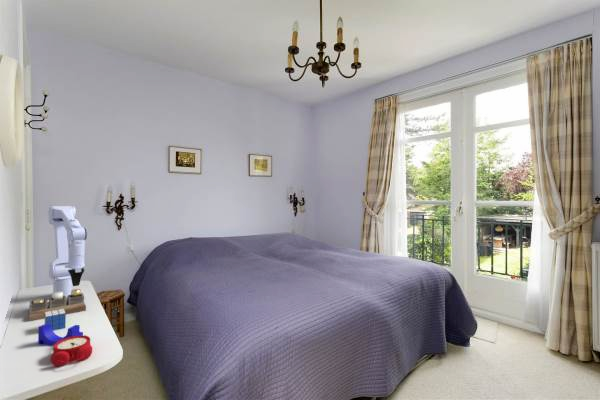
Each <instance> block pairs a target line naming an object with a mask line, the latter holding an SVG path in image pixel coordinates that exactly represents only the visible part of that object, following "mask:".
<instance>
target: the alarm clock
mask: <svg viewBox="0 0 600 400" xmlns="http://www.w3.org/2000/svg"><path fill="white" fill-rule="evenodd" d="M92 354H93V346H92V344H91V337H90V336H88V335H86V334H85V335H84V334H83V335H80V336H73V337H68V338H65V339H63V340H60V341H57V343H55V345H53V347H52V354H51V356H50V361H51V363H52V365H53V366H54V367H63V366H66V364H68V363H73V362H77V361H80V362H81V361H82V362H83V361H86V360H88V359H89V358H90V357H91V355H92Z"/></svg>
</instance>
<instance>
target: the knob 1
mask: <svg viewBox="0 0 600 400" xmlns="http://www.w3.org/2000/svg"><path fill="white" fill-rule="evenodd" d="M44 299H45V298H37V299H35V300H34V299H33V300H34V301H33V300H32V301H33V304H34V303H40V302H44Z"/></svg>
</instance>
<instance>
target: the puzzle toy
mask: <svg viewBox="0 0 600 400" xmlns="http://www.w3.org/2000/svg"><path fill="white" fill-rule="evenodd" d="M66 315H67V314H66V313H65V310H64V309H60V310H54V311H49V312H45V318H44V324H46V323H51V327H52V330H53V332H55V331H58V330H63V329H66V318H67V317H66Z"/></svg>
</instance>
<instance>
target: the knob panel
mask: <svg viewBox="0 0 600 400" xmlns="http://www.w3.org/2000/svg"><path fill="white" fill-rule="evenodd" d="M43 299H44V302H40V303H34V304H33V301H34V299H33V300H30V301H29V307H28V309H29V310H28V311H29V317H28V318H29V322H33V321H37V320H42V319H44V320H45V312H49V311H54V310H60V309H64V310H65V313H66V315H70V314H75V313H80V312H85V311H87V305H86V304H85V295H84V293H83V292H81V296H78V297H71V295H68V296H67V298H66V296H63V299H59V300H53V297H52V296H51V297H49V299H48V298H46V297H45V298H43Z"/></svg>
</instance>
